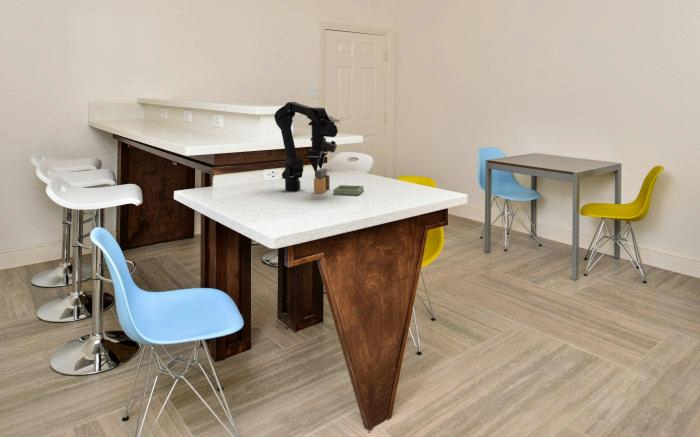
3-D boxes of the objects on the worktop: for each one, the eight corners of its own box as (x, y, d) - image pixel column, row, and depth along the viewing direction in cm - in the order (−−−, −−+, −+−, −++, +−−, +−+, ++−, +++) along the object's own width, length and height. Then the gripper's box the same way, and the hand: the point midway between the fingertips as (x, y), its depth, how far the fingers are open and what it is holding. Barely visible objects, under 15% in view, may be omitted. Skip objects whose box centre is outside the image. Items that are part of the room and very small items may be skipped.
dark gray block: (314, 177, 251) (314, 171, 251) (320, 174, 261) (320, 168, 260) (321, 177, 251) (320, 171, 250) (326, 174, 260) (326, 168, 260)
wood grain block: (319, 189, 263) (318, 175, 261) (319, 189, 264) (319, 174, 263) (328, 190, 262) (328, 175, 260) (329, 189, 263) (329, 175, 262)
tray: (333, 194, 249) (333, 189, 249) (339, 190, 261) (339, 185, 260) (358, 195, 247) (358, 190, 246) (363, 191, 258) (363, 186, 257)
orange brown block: (314, 193, 254) (313, 178, 252) (317, 191, 259) (316, 177, 257) (322, 193, 253) (322, 179, 251) (325, 191, 258) (325, 177, 256)
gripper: (330, 138, 231) (330, 173, 235) (339, 134, 249) (339, 167, 253) (305, 137, 234) (306, 172, 237) (316, 134, 251) (316, 166, 255)
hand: (318, 169), depth 246 cm, fingers open, 9 cm apart
